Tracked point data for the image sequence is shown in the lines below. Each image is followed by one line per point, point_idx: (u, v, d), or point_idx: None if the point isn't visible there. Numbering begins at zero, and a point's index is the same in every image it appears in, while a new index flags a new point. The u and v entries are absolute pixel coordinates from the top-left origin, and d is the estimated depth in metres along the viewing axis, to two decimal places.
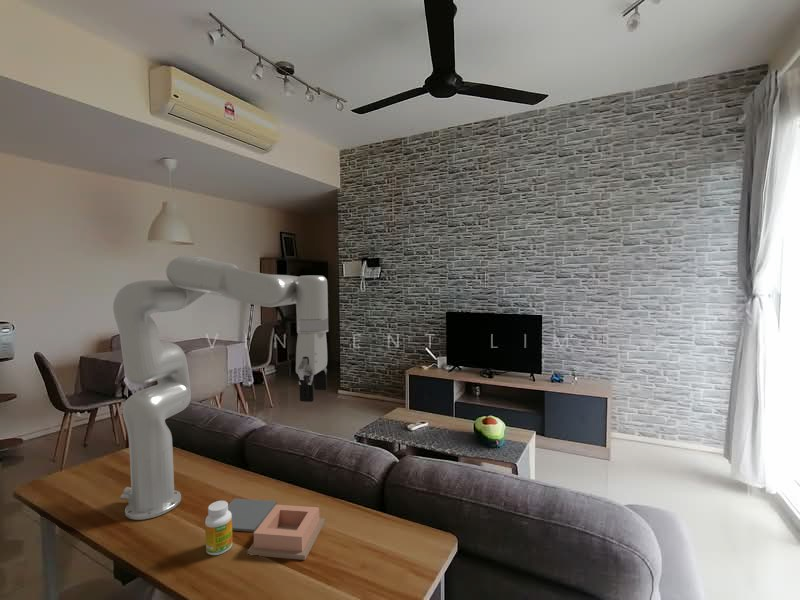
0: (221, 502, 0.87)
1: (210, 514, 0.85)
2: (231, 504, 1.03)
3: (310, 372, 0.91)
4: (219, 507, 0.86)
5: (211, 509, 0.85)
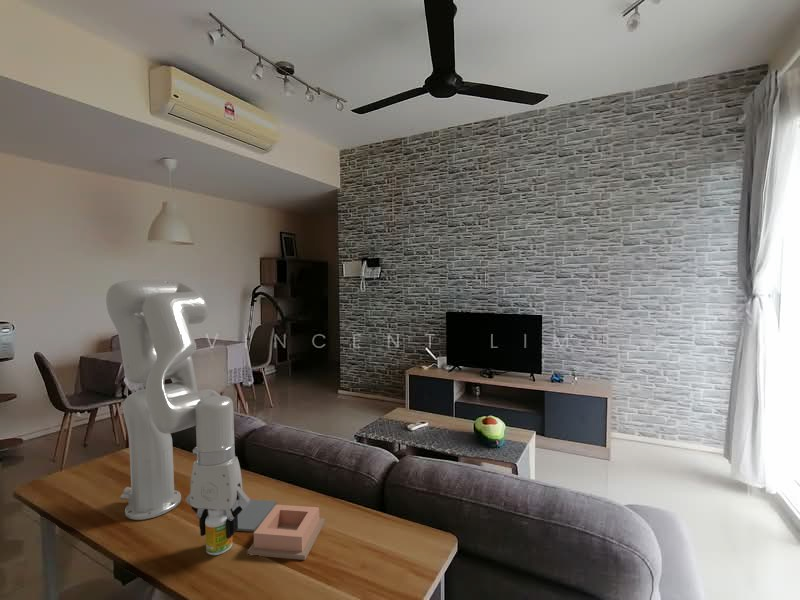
0: None
1: (210, 514, 0.85)
2: None
3: None
4: None
5: (211, 509, 0.85)
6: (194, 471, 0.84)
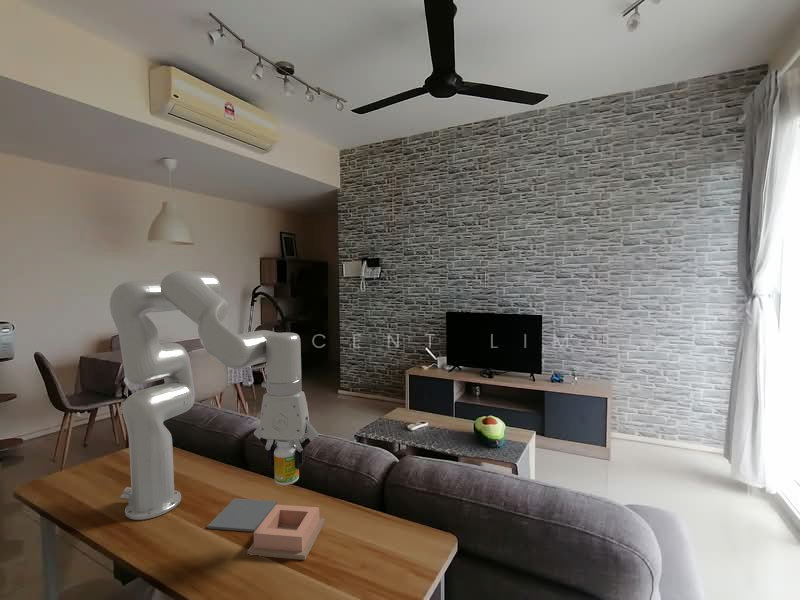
0: None
1: (279, 445, 0.87)
2: (231, 504, 1.03)
3: None
4: None
5: (280, 440, 0.87)
6: (264, 403, 0.86)
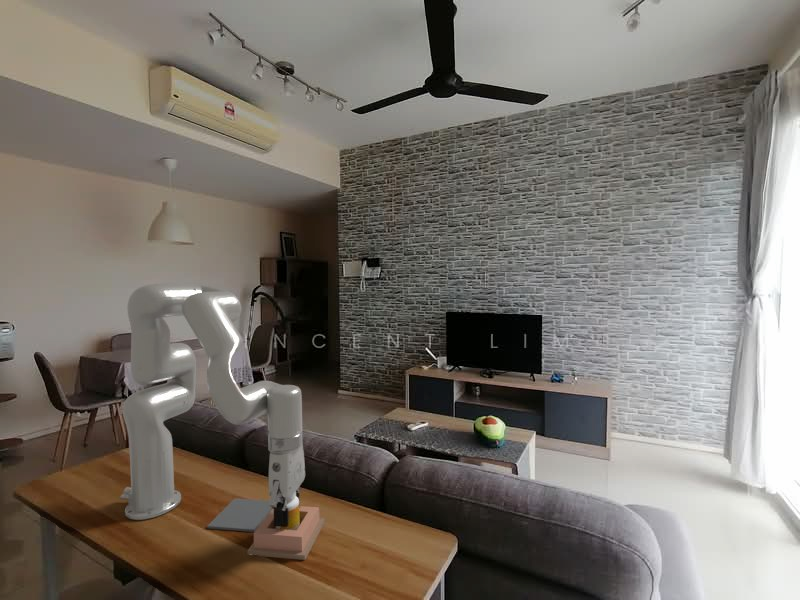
0: None
1: (293, 496, 0.89)
2: (231, 504, 1.03)
3: None
4: None
5: None
6: (289, 461, 0.85)
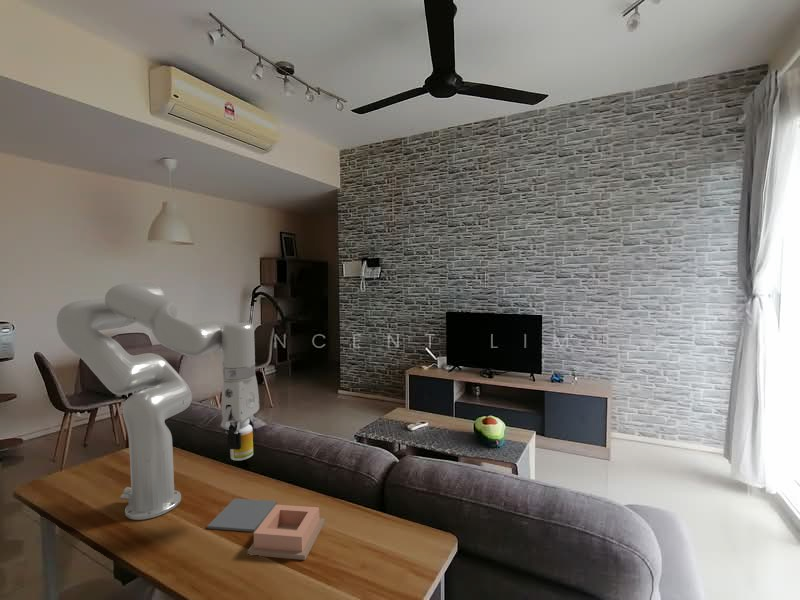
0: None
1: (246, 423, 0.97)
2: (231, 504, 1.03)
3: None
4: None
5: None
6: (241, 388, 0.93)
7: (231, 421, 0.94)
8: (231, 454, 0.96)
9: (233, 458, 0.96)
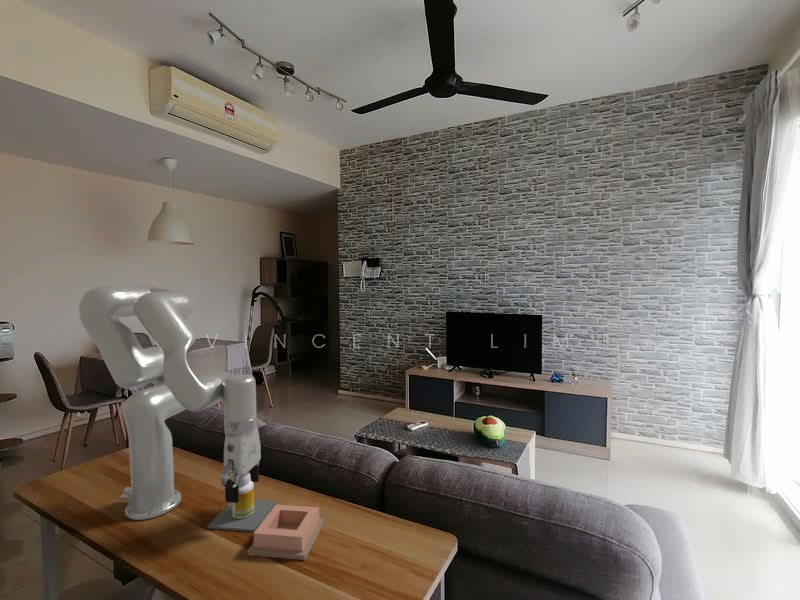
0: None
1: (247, 481, 0.98)
2: None
3: None
4: (245, 474, 0.99)
5: (246, 477, 0.98)
6: (243, 442, 0.94)
7: (231, 473, 0.94)
8: (232, 512, 0.97)
9: (234, 516, 0.96)
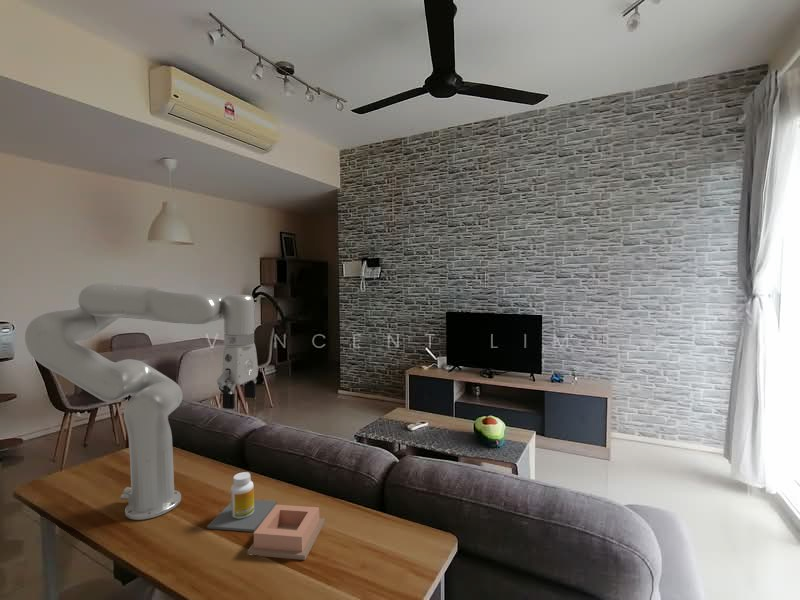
0: (238, 475, 0.99)
1: (247, 481, 0.98)
2: None
3: None
4: (245, 474, 0.99)
5: (246, 477, 0.98)
6: (239, 354, 1.01)
7: (228, 382, 1.01)
8: (232, 512, 0.97)
9: (234, 516, 0.96)
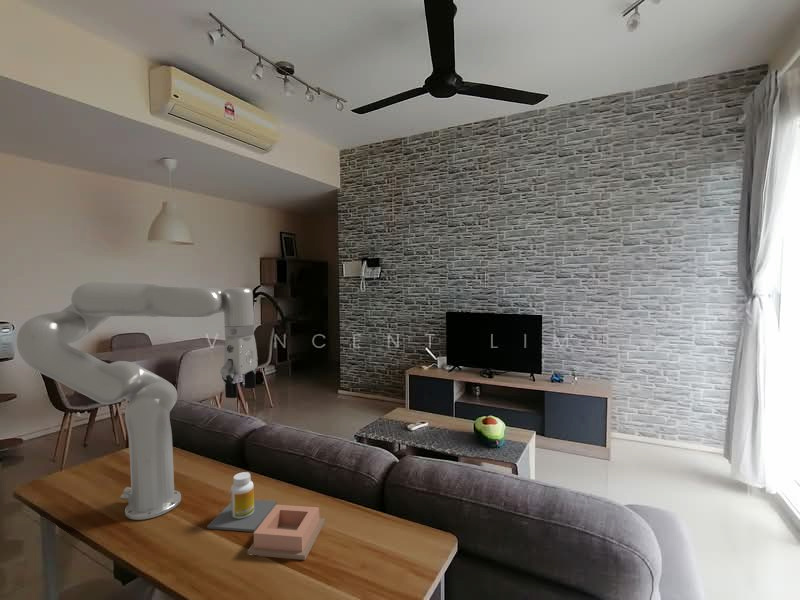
0: (238, 475, 0.99)
1: (247, 481, 0.98)
2: None
3: None
4: (245, 474, 0.99)
5: (246, 477, 0.98)
6: (241, 344, 1.05)
7: (230, 372, 1.04)
8: (232, 512, 0.97)
9: (234, 516, 0.96)
